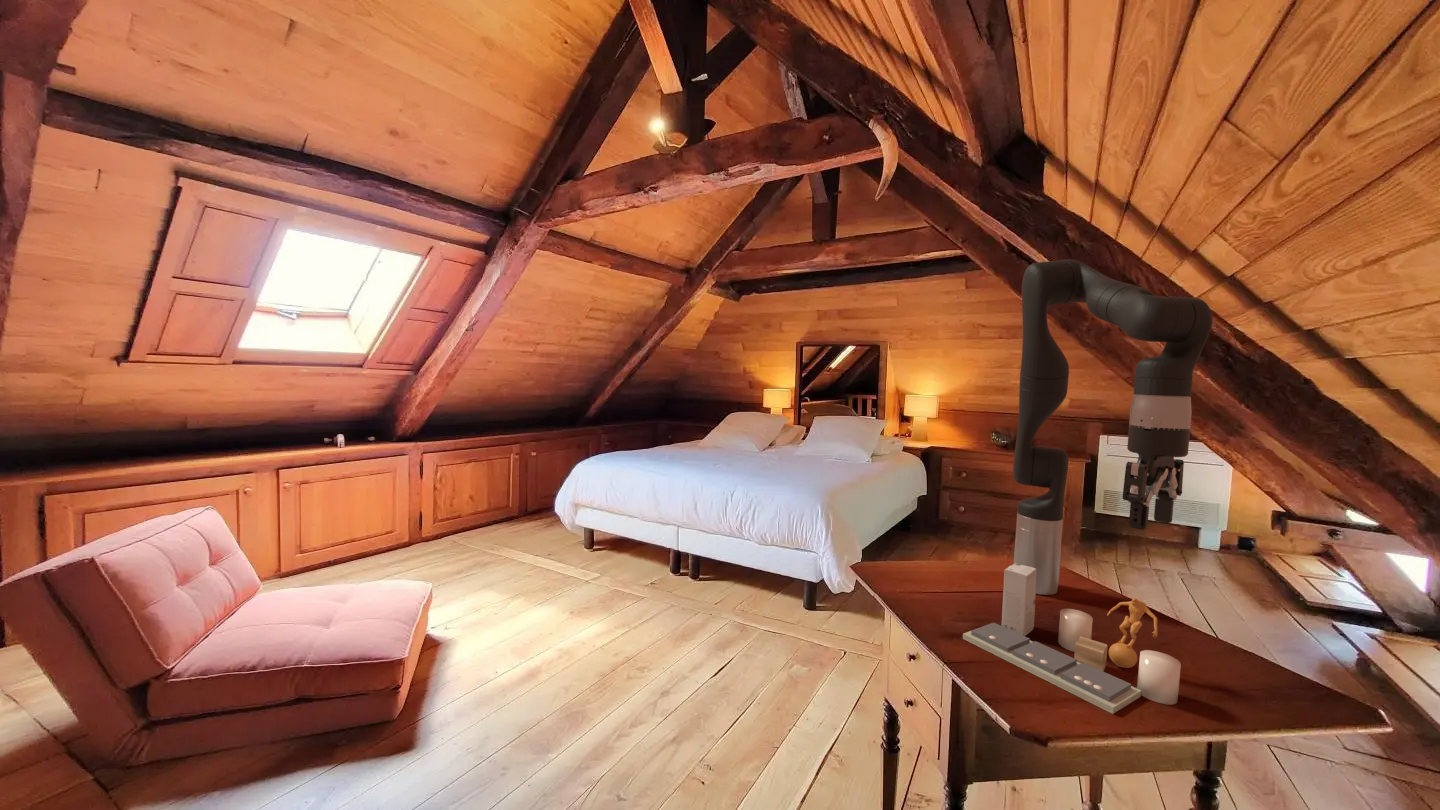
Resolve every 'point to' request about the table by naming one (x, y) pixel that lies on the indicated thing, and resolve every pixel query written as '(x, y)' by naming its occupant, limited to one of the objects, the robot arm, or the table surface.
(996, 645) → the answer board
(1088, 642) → the beech block
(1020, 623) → the skincare box
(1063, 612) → the white rounded cylinder
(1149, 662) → the white pillar candle
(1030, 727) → the table surface
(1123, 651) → the figurine
